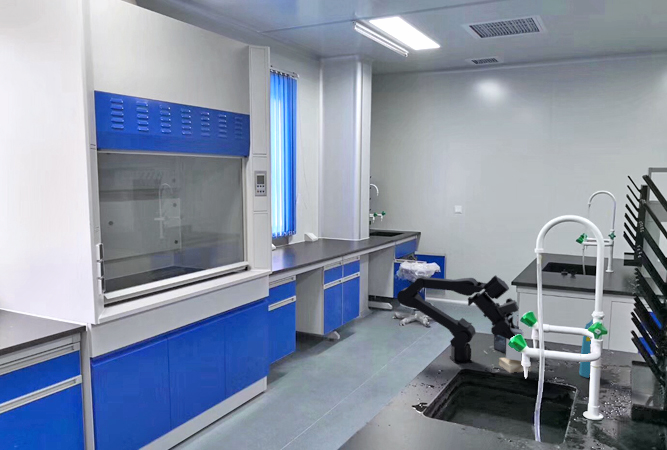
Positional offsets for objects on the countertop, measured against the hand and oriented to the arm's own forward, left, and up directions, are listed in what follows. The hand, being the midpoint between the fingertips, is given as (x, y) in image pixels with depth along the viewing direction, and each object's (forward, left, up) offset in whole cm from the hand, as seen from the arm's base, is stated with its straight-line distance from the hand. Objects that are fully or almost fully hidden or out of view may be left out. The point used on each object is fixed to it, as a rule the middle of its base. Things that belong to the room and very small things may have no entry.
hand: (519, 340), depth 180 cm
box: (+5, +19, -11) cm, 22 cm away
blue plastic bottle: (+20, -10, -11) cm, 25 cm away
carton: (-1, +1, -7) cm, 7 cm away
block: (-1, +1, -11) cm, 11 cm away
